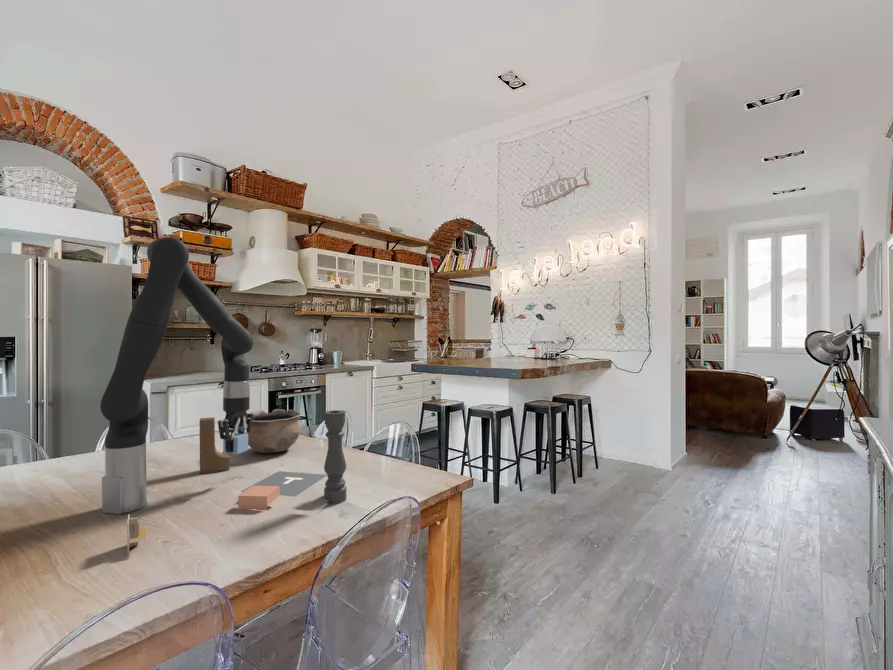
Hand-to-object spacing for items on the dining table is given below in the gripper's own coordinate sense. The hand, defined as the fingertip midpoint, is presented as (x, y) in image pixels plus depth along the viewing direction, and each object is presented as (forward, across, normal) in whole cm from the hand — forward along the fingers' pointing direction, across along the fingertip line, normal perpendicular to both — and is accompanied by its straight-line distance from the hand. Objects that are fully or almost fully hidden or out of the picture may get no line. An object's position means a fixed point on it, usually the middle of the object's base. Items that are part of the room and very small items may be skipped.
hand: (235, 449), depth 145 cm
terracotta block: (+11, -12, -17) cm, 23 cm away
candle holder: (+11, -5, -36) cm, 38 cm away
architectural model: (+12, -41, -5) cm, 43 cm away
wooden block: (+12, +12, +17) cm, 24 cm away
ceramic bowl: (+11, +38, +12) cm, 41 cm away
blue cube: (+1, 0, 0) cm, 1 cm away
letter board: (+11, +3, -16) cm, 19 cm away
